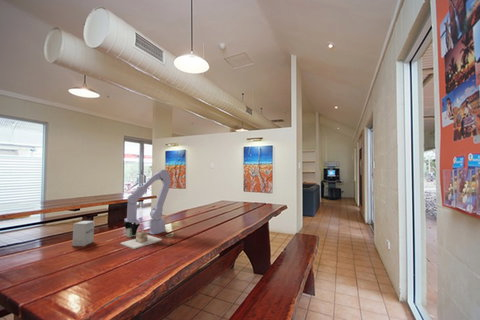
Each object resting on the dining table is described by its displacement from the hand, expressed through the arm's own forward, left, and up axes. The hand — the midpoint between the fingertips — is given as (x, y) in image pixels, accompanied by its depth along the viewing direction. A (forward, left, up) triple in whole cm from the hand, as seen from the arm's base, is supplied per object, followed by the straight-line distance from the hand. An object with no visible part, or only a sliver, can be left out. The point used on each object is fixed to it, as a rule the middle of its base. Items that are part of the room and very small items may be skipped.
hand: (131, 233), depth 138 cm
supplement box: (+24, -8, -2) cm, 25 cm away
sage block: (0, 0, -2) cm, 2 cm away
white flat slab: (+3, +17, -1) cm, 17 cm away
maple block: (+3, +17, 0) cm, 17 cm away
